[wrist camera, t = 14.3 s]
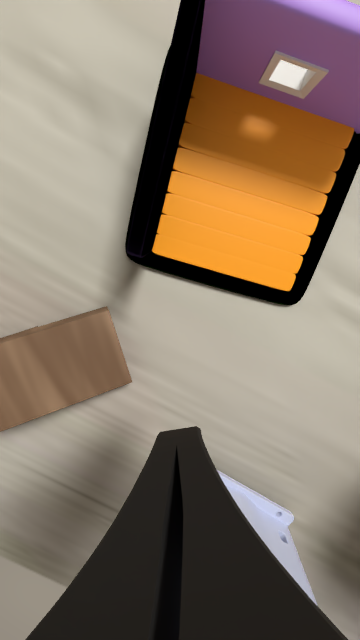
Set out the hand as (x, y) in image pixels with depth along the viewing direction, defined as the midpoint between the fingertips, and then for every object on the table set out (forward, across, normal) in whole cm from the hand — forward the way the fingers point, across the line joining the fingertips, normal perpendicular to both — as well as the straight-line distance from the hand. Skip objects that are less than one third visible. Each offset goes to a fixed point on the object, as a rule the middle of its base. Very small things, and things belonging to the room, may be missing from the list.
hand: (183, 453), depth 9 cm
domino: (+10, +4, -1) cm, 10 cm away
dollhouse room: (+11, -5, -9) cm, 15 cm away
